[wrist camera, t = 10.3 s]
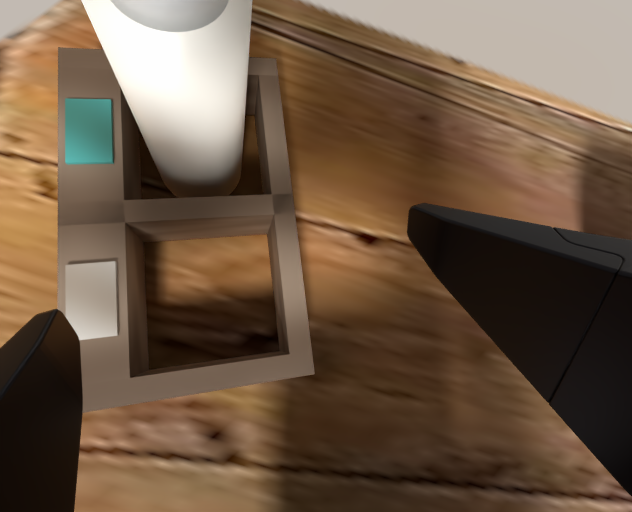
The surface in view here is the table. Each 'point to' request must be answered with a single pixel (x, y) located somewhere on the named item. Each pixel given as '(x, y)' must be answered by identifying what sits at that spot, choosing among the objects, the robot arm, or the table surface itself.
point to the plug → (182, 84)
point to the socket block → (160, 239)
